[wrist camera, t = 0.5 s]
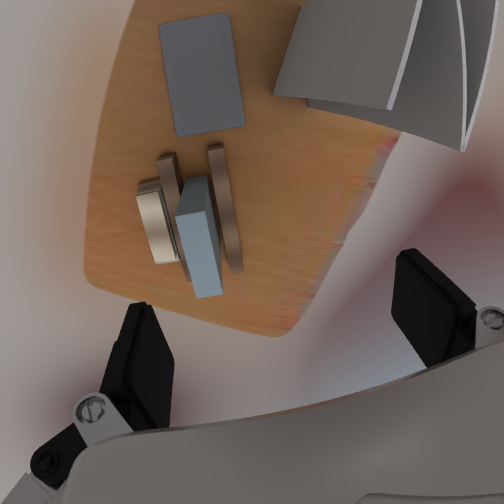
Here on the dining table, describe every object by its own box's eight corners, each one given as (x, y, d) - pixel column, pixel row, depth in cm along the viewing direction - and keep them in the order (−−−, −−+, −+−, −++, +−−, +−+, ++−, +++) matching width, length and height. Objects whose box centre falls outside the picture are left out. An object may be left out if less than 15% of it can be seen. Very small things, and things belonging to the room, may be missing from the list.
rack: (161, 155, 40) (156, 161, 37) (222, 143, 41) (223, 148, 37) (188, 267, 49) (187, 281, 46) (242, 258, 49) (244, 272, 46)
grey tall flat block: (310, 107, 39) (463, 153, 13) (271, 95, 38) (385, 109, 12) (338, 20, 33) (501, -35, 7) (301, 5, 32) (433, -90, 6)
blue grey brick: (186, 178, 42) (175, 216, 30) (207, 174, 43) (204, 211, 30) (200, 241, 47) (196, 298, 35) (220, 238, 47) (223, 294, 35)
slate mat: (159, 26, 32) (158, 25, 31) (228, 14, 32) (228, 12, 31) (178, 137, 40) (177, 137, 39) (244, 125, 40) (245, 125, 39)
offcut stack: (140, 181, 42) (132, 191, 38) (164, 176, 42) (158, 186, 38) (160, 255, 48) (156, 271, 43) (182, 251, 48) (179, 267, 44)
